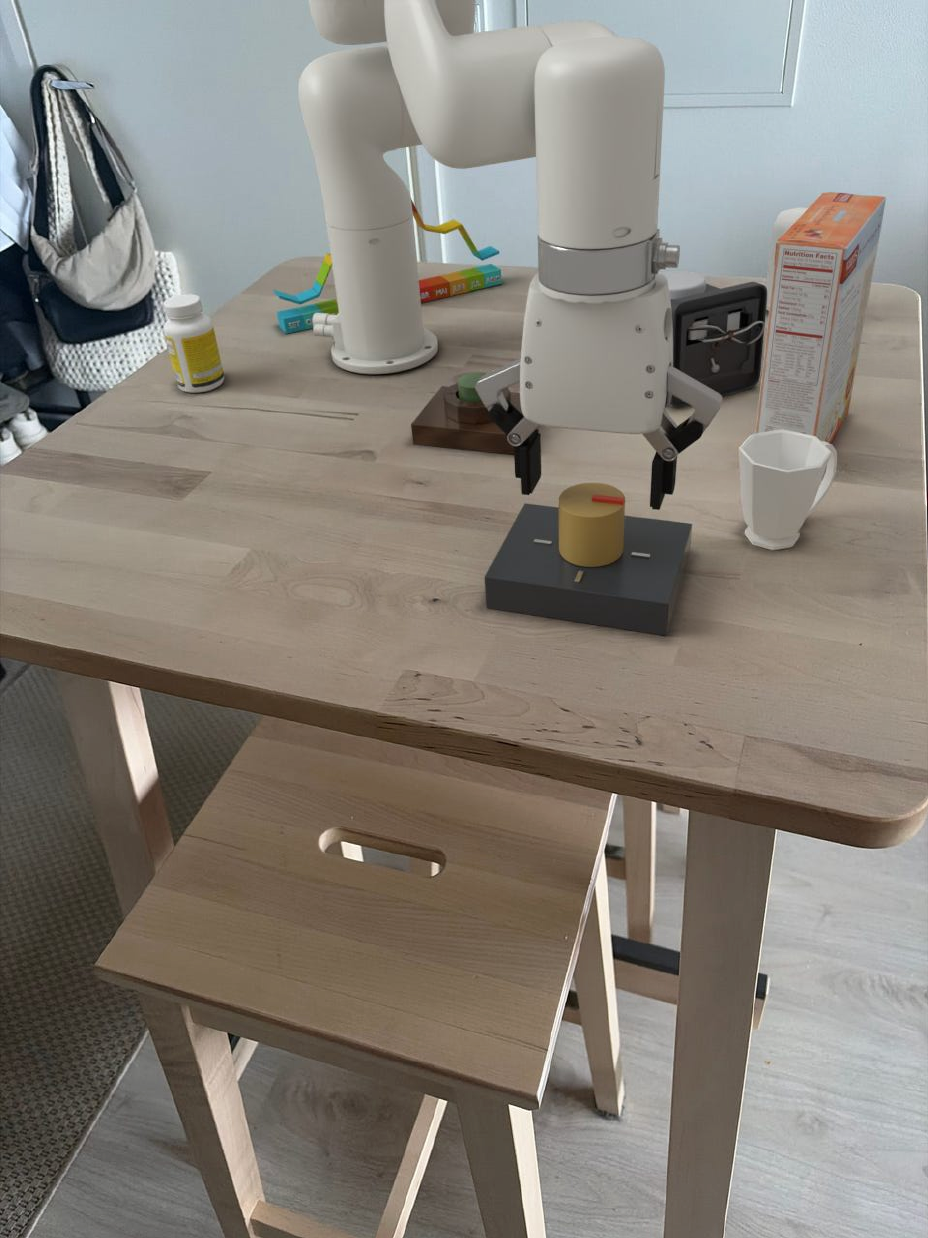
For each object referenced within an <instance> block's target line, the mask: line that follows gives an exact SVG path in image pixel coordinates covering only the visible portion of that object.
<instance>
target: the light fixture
mask: <svg viewBox="0 0 928 1238" xmlns="http://www.w3.org/2000/svg"><path fill="white" fill-rule="evenodd" d="M658 274H661V275H663V276H665V277H666V278H667V281H668V286H669V292H670V301H671V310H672V327H673V367H674V368H676V369H678V370H679V371H681V372H683V373H685V374H686V375H688V376H690V377H692V378H693V379H695V380H697V381H699V382H700V383H702V384H704V385H706V386H707V387H709V388H711V389H713V390H714V391H716V392H718V393H719V394H720V395H721V396H722V397H725V396H729V395H733V394H737V393H741V392H744V391H748V390H752V389H753V388H755V387H756V386H757V385H758V383H759V381H760V378H761V372H762V370H761V369H762V362H763V361H762V358H763V350H764V339H765V327H766V317H767V316H766V314H767V310H766V305H767V288H766V287H765V284H761V283H759V282H757V281H747V282H744V283H739V284H735V285H730V286H726V287H722V288H721V287H717V286H714V285H711V284H709V283H707V279H706V277H705V276H704V275H703V274H702V273H699V272H696V271H691V270H682V269H680V270H679V269H672V270H663V271H661V270H660V271H659V272H658ZM670 405H671V406H672V407H674V408H677V409H679V408H684V407H688V406H690V405H689V404H687V403H686V402H684V401H682V400H680V399H679V398H677V397H675V396H673V395H671V401H670ZM670 405H669V406H670Z"/></svg>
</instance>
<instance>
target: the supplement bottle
mask: <svg viewBox="0 0 928 1238" xmlns="http://www.w3.org/2000/svg"><path fill="white" fill-rule="evenodd" d="M163 307H164V312H165V316H166V317H167V318H168V320H166V321H165V322H164V324H163V328H162V329H163V334H164V339H165V342H166V346H167V349H168V354H169V357H170V358H169V359H170V361H171V366H172V370H173V373H174V377H175V381H176V385H177V387H178V389H179V390H180V391H182V392H185V393H192V394H197V393H204V392H209V391H213V390H215V389H217V388H218V387H220V386H221V385H222V384H223V383H224V381H225V373H224V368H223V363H222V359H221V355H220V350H219V346H218V341H217V337H216V332H215V329H214V325H213V321H212V318H210V316H208V315H206V314H204V313H202V312H203V310H204V309H203V304H202V301H201V297H200V296H199V295H197V294H192V293H185V294H177V295H174V296H171V297H168V298H166V299H165V300H164V302H163Z"/></svg>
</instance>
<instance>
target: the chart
mask: <svg viewBox="0 0 928 1238" xmlns="http://www.w3.org/2000/svg"><path fill="white" fill-rule="evenodd" d="M411 203H412V213H413V219H414V220H415V222H416V224H417V226H418V227H419V228H421V230H424V231H426V232H430V233H435V234H441V235H446V234H449V233H452V232H453V231H456V230H458V232H459V233H460V235H461V237H462V238H463V240H464V242H465V243H466V246H467V247H468V249H469V251H470V252H471V254H472V255H473V257H475V258H477V259H478V260H480V261H482V262H483V261H486V260H488V259H491V258H493V257H494V256H498V255H500V250H499V249H497V248H495V247H494V246H491V245H488V246H486V247H484V248H482V249H479V250H478V248H477V247H476V245H475V244H474V242H473V241H472V240H473V239H472V238H471V237H470V235H469V234H468V232H467V230H466V228H465V227H464V225H463V223H461V222H459V221H458V220H456V219H454V218H453V219H452V220H449V221H446V222H444V223H441V224H439V225H430V224H425V223H424V221H423V219H422V216H421V215H420V213H419V211H418V209H417V208H416V206H415V203H414V201H413V200H412V198H411ZM331 269H332V261H331V254H330V253H328V252H326V253H325V255H324V258H323V261H322V263H321V265H320V267H319V271H318V273H317V275H316V278H315V280H314V283H313V285H312V287H311V288H309V289H307V290H304V291H302V292H299V293H297V294H290V293H286V292H283V291H279V290H276V289H272V292H273V293H274V295H275V296H276V297H277V298H278V299H280V300H283V301H287V302H290V303H293V304H296V305H300V306H297V307H292V308H288V309H283V310H280V311H276V316H277V320H278V321H277V322H278V327H279V328H280V329H281V330H282V331H283V332H284V333H285V334H286V335H287V334H291V333H296V332H300V331H301V332H302V331H304V330H309V329H314V327H313V316H314V314H315V313H327V314H331V315H337V314H338V313H339V310H338V303H337V298H333V299H328V300H324V301H319V302H315V303H311V304H306V303H308V302H310V301H312V300H315V299H317V298H319V297H320V296H321V294H322V291H323V289H324V287H325V284H326V282H327V279H328V277H329V274H330V272H331ZM498 285H502V269H500V268H499V267H498V266H496V265H494V264H493V263H488V264H484V265H478V266H475V267H471V268H466V269H463V270H457V271H454V272H450V273H445V274H440V275H437V276H431V277H427V278H421V279H419V289H420V300H421V304H422V303H427V302H430V301H435V300H439V299H443V298H444V299H445V298H447V297H448V298H449V297H452V296H456V295H461V294H465V293H468V292H472V291H477V290H482V289H485V288H490V287H493V286H498ZM303 304H306V305H303Z"/></svg>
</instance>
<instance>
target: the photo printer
mask: <svg viewBox="0 0 928 1238" xmlns="http://www.w3.org/2000/svg"><path fill="white" fill-rule="evenodd" d="M809 207H810V206H809ZM809 207H807V206H805V207H804V206H803V207H793V208H788V209H784V210H782V211H781V212H780V213H779V215H777V217H776V219H775V221H774V224H773V227H772V234H771V241H770V247H769V256H768V263H767V271H766V278H765V284H764V286H765V287H766V288H767V305H766V311H768V312H769V307H770V298H771V288H772V279H773V272H774V262H775V252H776V243H777V241H778V240H779V239H780V238H781V237H782V236H783V234H784V233H785V232H786V231H787V230H788V229H789V228H790V227H791V226H792V225H793V224H794V223H795V222H796V221H797V220H798V219H799V218H800V217H801V215H802V214H803V213H804V212H805V211H806V210H807V209H808V208H809Z"/></svg>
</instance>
